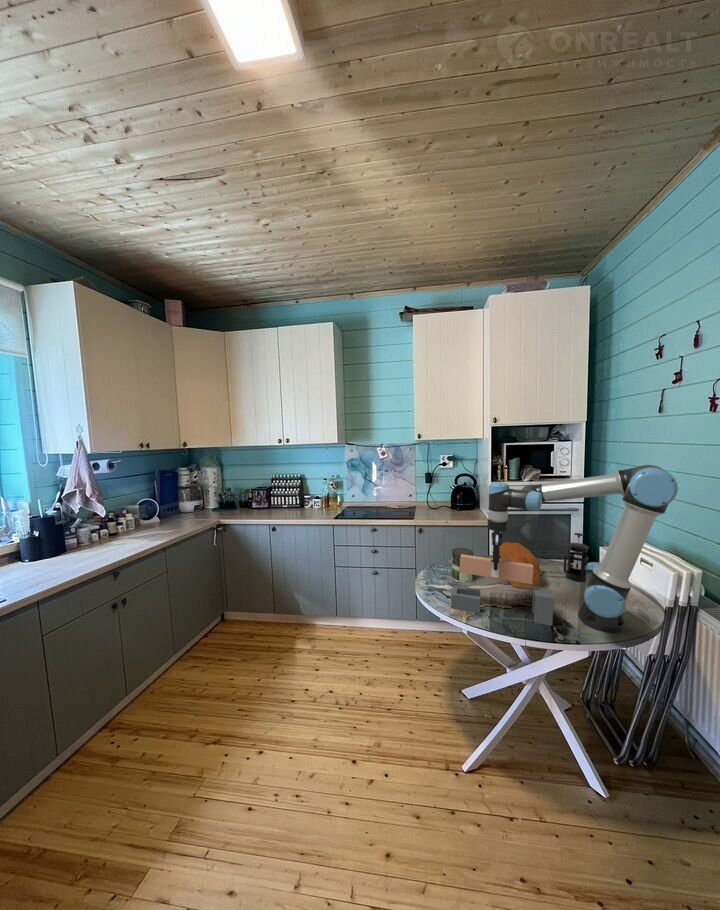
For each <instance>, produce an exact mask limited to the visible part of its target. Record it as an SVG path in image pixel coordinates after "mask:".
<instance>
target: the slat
mask: <svg viewBox="0 0 720 910" xmlns="http://www.w3.org/2000/svg"><path fill="white" fill-rule="evenodd" d="M491 560H493V559H492V558H490V557H483V556H477V555H473V556H470V555H463V554H461V556H460V573H466V574H472V576H473V575H474V576H480V577H485V578H486V577H487V578H491V579H499V580H505V581H508V580H510V581H516V582H522V583H528V584H532V579H533V564H526V563H519V562H512V561H505V560H499V561H500V562H499V578H497V577H492V562H491Z"/></svg>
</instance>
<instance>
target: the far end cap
mask: <svg viewBox="0 0 720 910" xmlns="http://www.w3.org/2000/svg"><path fill="white" fill-rule="evenodd" d="M450 598H451V600H450V609H453V610H458V611H465V612H471V613H476V614H480V613H481V589H479V588H472V587H467V586H466V587H465V586H460V585H453V586H452V589H451V596H450Z"/></svg>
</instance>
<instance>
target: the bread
mask: <svg viewBox="0 0 720 910" xmlns="http://www.w3.org/2000/svg"><path fill="white" fill-rule="evenodd" d="M499 556H501V558H499V560H505V561H512V562H519V563H526V564H533V579H532V584H528V583H522V582H516V581H510V580H507V581H508V582H509V584H510V585H511V586H512V587H513V588H519V589H531V590H533V586H538V587H541V584H542V581H541V579H542V577H541V575H542V574H541V569H540V563H539V560H538V559H537V557H536V556H535V555H533V553H532V552H531V551H530V550H529V549H528V548H526V547H525V546H524V545H522V544H521V543H519V542H510V541H509V542H507V541H506V542H504V541H503V543H501V546H500V554H499Z"/></svg>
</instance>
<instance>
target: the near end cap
mask: <svg viewBox="0 0 720 910" xmlns="http://www.w3.org/2000/svg"><path fill="white" fill-rule="evenodd" d="M554 602H555V601H554V596H553V593H552V591H551V589H550V587H543V586H540V587H538V586H533V589H532V607H531V609H532V610H531V613H532V614H533V615H534V623H535V624H541V625H544V626H545V625H547V626H550V627H551V626H553V621H554V620H553V619H554V618H553V617H554V616H553V615H554Z"/></svg>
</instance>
